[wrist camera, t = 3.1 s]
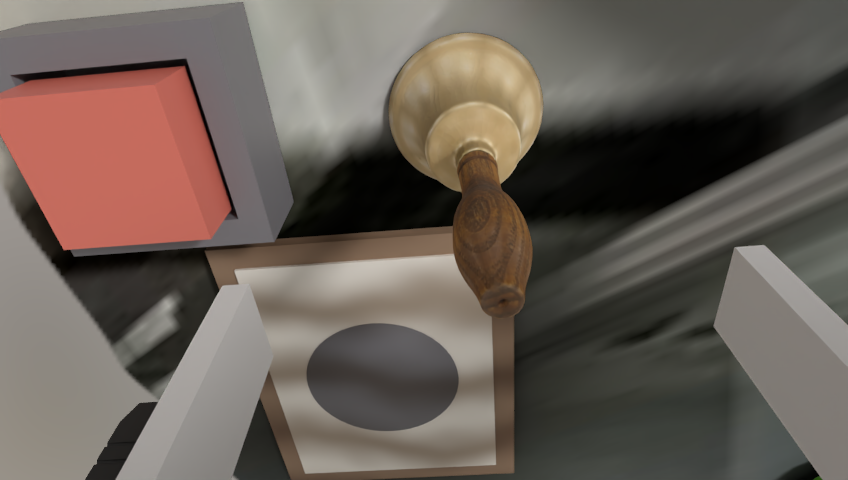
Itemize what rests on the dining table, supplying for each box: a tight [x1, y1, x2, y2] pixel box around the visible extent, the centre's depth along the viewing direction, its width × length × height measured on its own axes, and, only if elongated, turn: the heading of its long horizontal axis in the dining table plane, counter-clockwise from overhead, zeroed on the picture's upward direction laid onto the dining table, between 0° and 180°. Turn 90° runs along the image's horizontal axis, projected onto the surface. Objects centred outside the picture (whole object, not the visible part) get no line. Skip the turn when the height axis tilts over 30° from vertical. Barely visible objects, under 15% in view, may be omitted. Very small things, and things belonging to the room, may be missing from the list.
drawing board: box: [205, 226, 514, 480], centre depth 38 cm, size 24×19×1 cm
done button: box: [0, 66, 232, 250], centre depth 24 cm, size 7×7×3 cm
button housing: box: [0, 2, 294, 257], centre depth 27 cm, size 11×11×4 cm
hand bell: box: [389, 33, 543, 319], centre depth 21 cm, size 8×8×16 cm
